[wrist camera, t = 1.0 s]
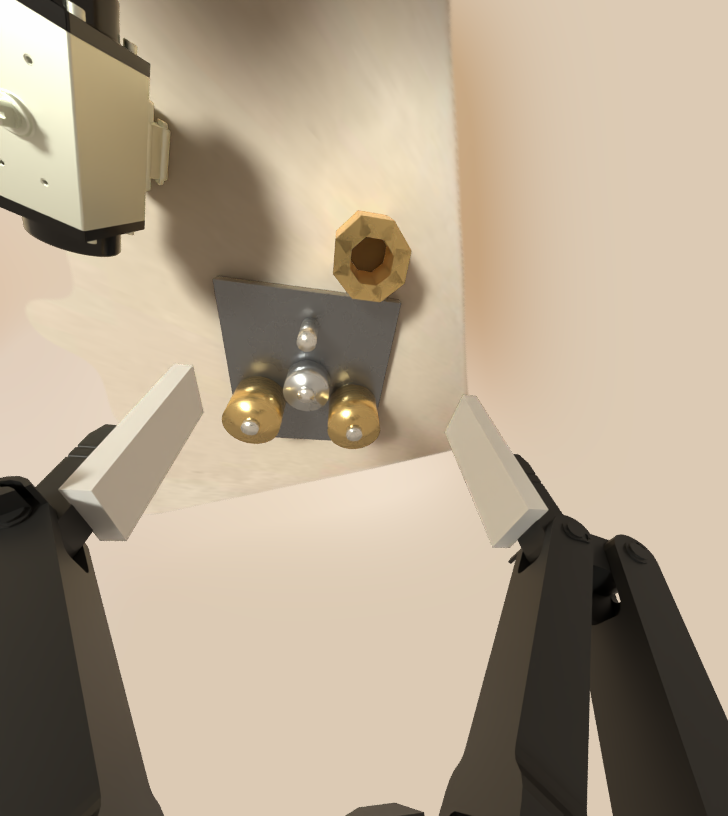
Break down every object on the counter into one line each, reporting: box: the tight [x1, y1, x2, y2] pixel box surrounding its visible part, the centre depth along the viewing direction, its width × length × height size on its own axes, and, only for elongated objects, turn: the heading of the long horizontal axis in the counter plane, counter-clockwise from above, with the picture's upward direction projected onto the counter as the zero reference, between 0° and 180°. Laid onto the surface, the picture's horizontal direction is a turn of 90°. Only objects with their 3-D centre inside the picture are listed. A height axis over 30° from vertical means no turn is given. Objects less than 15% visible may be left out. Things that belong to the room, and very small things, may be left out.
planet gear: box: [333, 210, 411, 302], centre depth 25 cm, size 6×6×5 cm
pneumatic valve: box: [0, 0, 171, 257], centre depth 16 cm, size 6×12×12 cm, turn 153°
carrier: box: [213, 276, 401, 449], centre depth 32 cm, size 20×18×7 cm
